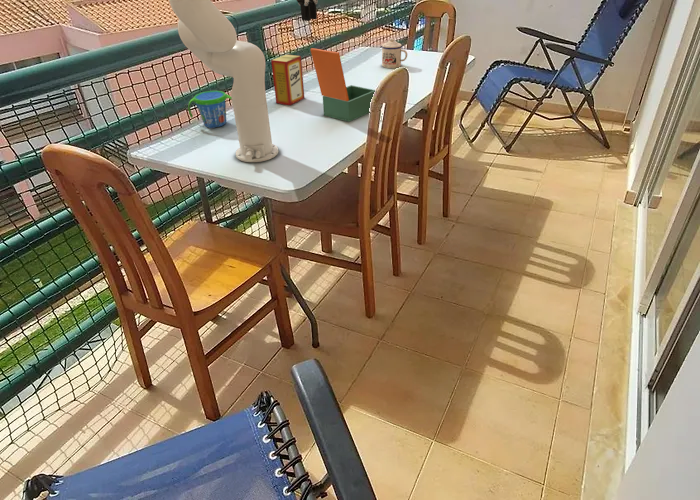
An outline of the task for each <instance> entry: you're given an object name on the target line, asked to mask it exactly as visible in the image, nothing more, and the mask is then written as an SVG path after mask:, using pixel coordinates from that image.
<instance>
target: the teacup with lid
mask: <svg viewBox="0 0 700 500" xmlns="http://www.w3.org/2000/svg"><path fill="white" fill-rule="evenodd" d="M402 47H403V45H402V43H400V42H398V41H396V40H395V39H394V38H392V37H391V38H389V40H388V41H386V42H384V43H382V44H381V66H382V67H384V68H385V69H395V68H399V67H401V65H402V62H405V61H406V60H407V58H408V52H407V50H405V49H402ZM402 52H403V53H404V55H405V57H404V58H403V59H402Z"/></svg>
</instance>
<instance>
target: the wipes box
mask: <svg viewBox="0 0 700 500" xmlns="http://www.w3.org/2000/svg"><path fill="white" fill-rule="evenodd" d="M346 88H347V93H348V98H349V100H348V101H344V100H340V99H335V98H331V97H327V96H322V106H323V107H322V108H323V116H325V117H329V118H333V119H336V120H341V121H344V122H348V123H350V122H352V121H354V120H356V119H359V118H361V117H363V116H365V115H367V114H369V113H370V112H369V108H370V102H371V99H372V97H373V94H374V92H375V90H376V89H371V88H368V87H362V86H356V85H352V84H351V85H347V86H346Z"/></svg>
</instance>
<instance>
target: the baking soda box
mask: <svg viewBox="0 0 700 500" xmlns="http://www.w3.org/2000/svg"><path fill="white" fill-rule="evenodd" d="M270 63H271V69H272V78H273V88H274V96H275V103H276V104H279V105H285V106H292V105H294V104H296V103H299V102H300V101H302V100H304V99H305V89H304V87H305V86H304V77H303V76H304V75H303V63H302V56H301V55H295V54H283V55H281V56H278V57H276V58H273V59H271V62H270Z"/></svg>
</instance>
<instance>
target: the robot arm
mask: <svg viewBox="0 0 700 500" xmlns="http://www.w3.org/2000/svg"><path fill="white" fill-rule="evenodd" d="M168 2H169V6H170V7H171V11H172V12H173V13H174V14H175V16H176V17H177V18H178V22H177V33H178V36H179V38H180V40H181V43H182V44H183V45H184V46H185V47H186V48H187V49H188V50H189V51H190V52H191V53H192V54H193V55H194V56H195V57H196V58H197V59H198V60H199V61H201V62H202V63H203V64H204V65H205V66H206V67H207V68H208V69H209V70H210V71H212V72H213V73H216V74H218V75H221V76H223V77H224V76H225V77H229V78H233V83H232V87H231V92H230V93H231V94H230V96H231V97H232V100H231V104H232V109H233V115H234V120H235V126H236V127H235V128H236V132H237V138H238V143H239V147H238V148H237V150H236V151H235V158H236V159H237V160H239V161H242V162H245V163H261V162H266V161H269V160H272V159H273V158H275V157H277V156H278V154H279V147H278V146H277V145H276V144H274V143H273V140H272V132H271V131H272V130H271V125H270V117H269V110H268V101H267V93H266V80H265V79H266V57H265V54H264V52H263V51H262V49H260V47H258V45H256V44H253V43H251V42H249V41H244V40H237V38H238V36H237V31H236V29H235V27H234V25H233V24H232V22H231V21H230V20H229V18H227V17H226V15H224V14H223V12H222V11H221V10H220V9H219V8H218V7H217V6H216V5H215V3H214V2H213V1H212V0H168ZM296 2H297V4H298V6H300V15H301V17H300V18H301V21H305V22H310V21H311V20H317V19H318V14H317V4H318V0H296Z"/></svg>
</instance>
